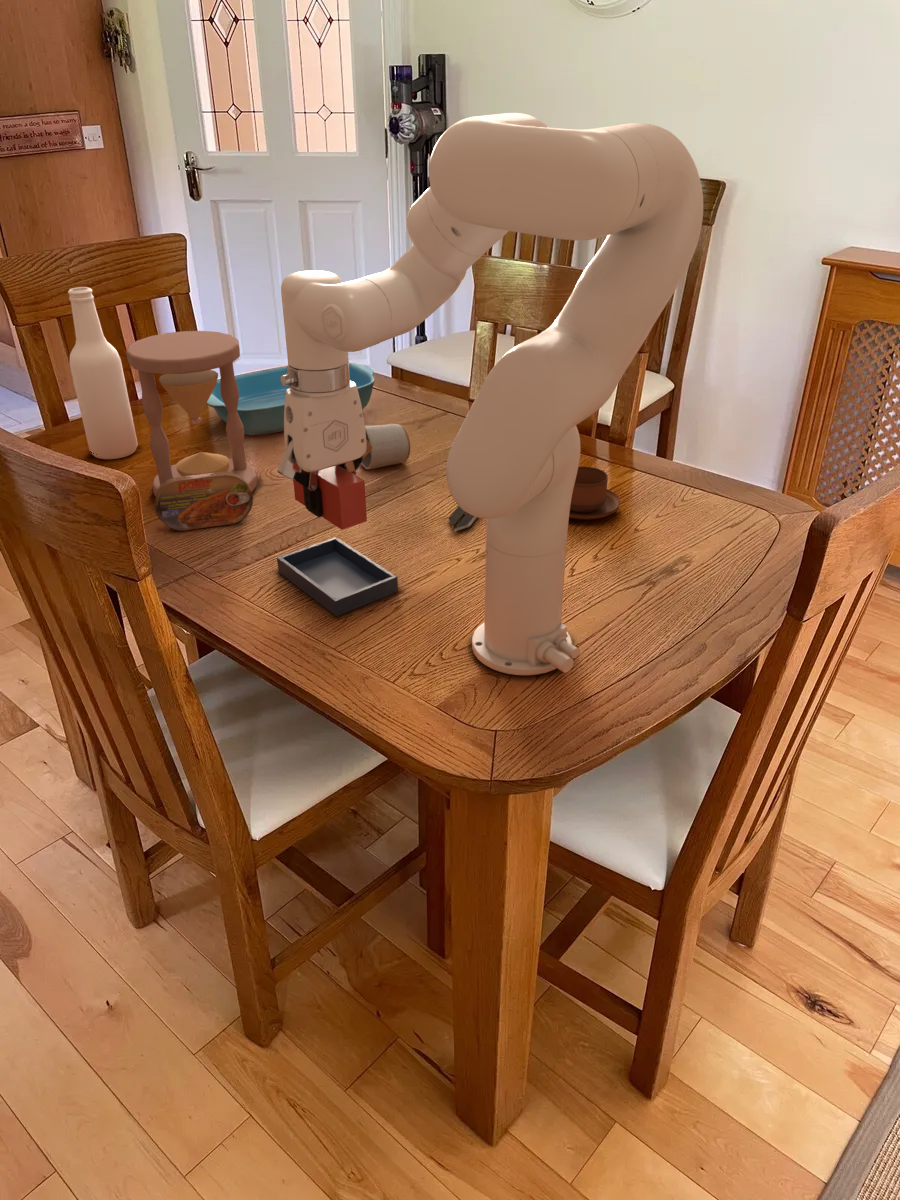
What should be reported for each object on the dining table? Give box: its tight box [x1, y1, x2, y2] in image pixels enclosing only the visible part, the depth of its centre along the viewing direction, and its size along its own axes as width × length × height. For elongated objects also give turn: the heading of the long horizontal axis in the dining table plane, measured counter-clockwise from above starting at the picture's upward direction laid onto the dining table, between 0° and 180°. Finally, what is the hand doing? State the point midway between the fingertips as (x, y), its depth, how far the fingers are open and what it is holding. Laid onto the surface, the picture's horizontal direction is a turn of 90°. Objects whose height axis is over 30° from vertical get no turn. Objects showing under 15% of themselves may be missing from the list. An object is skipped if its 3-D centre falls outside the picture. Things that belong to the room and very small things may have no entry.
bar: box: [292, 463, 368, 531], centre depth 119 cm, size 4×12×6 cm, turn 39°
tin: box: [153, 471, 254, 532], centre depth 141 cm, size 15×3×8 cm, turn 105°
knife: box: [448, 505, 478, 533], centre depth 149 cm, size 25×6×1 cm, turn 154°
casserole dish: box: [206, 362, 375, 436], centre depth 185 cm, size 37×22×7 cm, turn 123°
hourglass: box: [125, 330, 258, 497], centre depth 148 cm, size 18×18×25 cm
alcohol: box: [67, 286, 139, 460], centre depth 162 cm, size 9×9×30 cm
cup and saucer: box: [569, 466, 621, 521], centre depth 145 cm, size 12×12×6 cm
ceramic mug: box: [361, 423, 411, 470], centre depth 162 cm, size 11×8×8 cm
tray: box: [276, 536, 399, 617], centre depth 126 cm, size 16×10×2 cm, turn 39°
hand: (329, 507), depth 121 cm, fingers closed on bar, 4 cm apart
